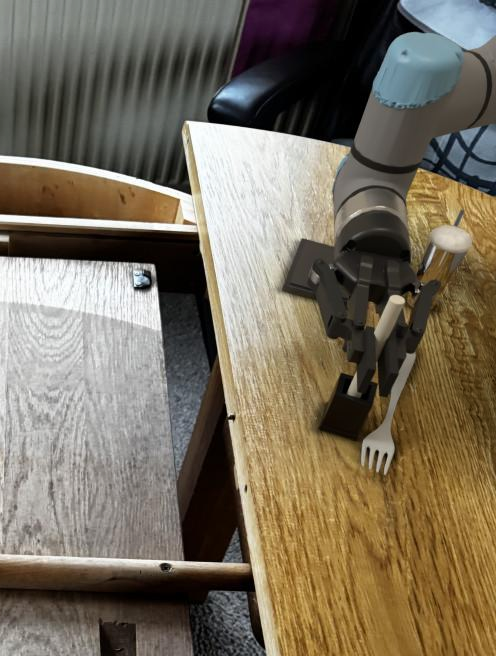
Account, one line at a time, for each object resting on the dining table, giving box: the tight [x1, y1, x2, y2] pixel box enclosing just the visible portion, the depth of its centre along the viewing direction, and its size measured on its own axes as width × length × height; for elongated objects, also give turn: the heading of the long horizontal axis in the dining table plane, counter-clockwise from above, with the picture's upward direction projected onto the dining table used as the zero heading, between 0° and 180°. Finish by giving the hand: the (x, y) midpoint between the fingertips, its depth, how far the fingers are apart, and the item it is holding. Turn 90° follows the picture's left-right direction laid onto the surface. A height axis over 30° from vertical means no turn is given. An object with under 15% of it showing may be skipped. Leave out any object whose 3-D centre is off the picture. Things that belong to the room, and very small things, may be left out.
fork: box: [360, 351, 417, 476], centre depth 97 cm, size 3×24×2 cm, turn 156°
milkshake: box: [405, 208, 473, 311], centre depth 106 cm, size 5×5×10 cm
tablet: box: [281, 237, 348, 310], centre depth 111 cm, size 9×11×1 cm
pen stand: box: [318, 372, 378, 442], centre depth 94 cm, size 4×4×4 cm
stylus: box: [347, 295, 406, 398], centre depth 90 cm, size 1×1×14 cm
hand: (377, 383), depth 85 cm, fingers closed on stylus
